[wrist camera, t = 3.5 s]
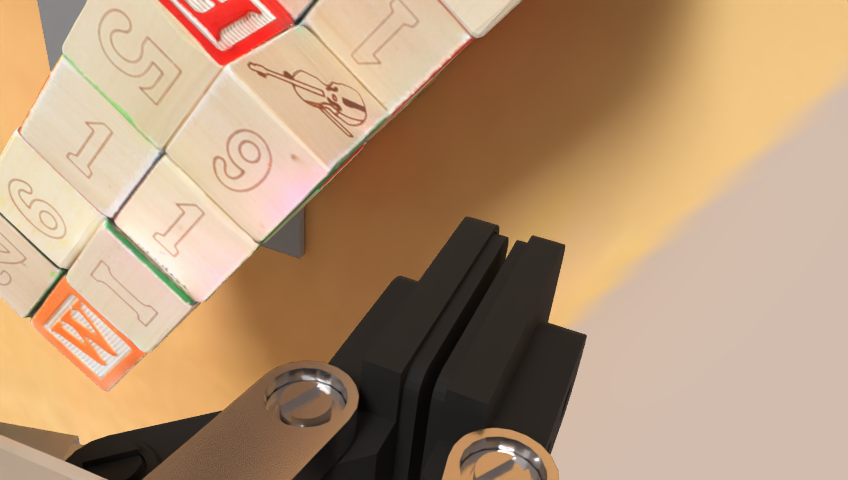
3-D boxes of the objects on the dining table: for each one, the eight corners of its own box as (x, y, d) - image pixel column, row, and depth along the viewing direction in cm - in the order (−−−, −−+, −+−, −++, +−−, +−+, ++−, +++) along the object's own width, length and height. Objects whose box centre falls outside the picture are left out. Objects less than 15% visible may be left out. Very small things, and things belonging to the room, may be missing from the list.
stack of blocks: (590, -417, 19) (402, -578, 10) (748, -214, 20) (721, -175, 11) (190, 97, 32) (-65, 250, 22) (298, 207, 33) (98, 401, 23)
